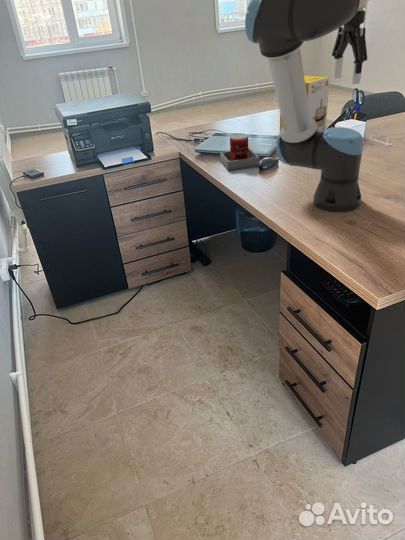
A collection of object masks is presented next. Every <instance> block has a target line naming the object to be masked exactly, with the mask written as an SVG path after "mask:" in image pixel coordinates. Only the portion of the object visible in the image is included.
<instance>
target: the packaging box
mask: <svg viewBox="0 0 405 540" xmlns="http://www.w3.org/2000/svg"><path fill="white" fill-rule="evenodd" d="M304 78H305V85H306V91H307V98H308V104H309V110H310V117H311V119H313V120H314V121H315V122H316V124H317V129H318V131H319V132H325V130H326V129H327V128H326V124H327V115H328V102H329V92H330V91H329V90H330V80H331V76H316V75H313V76H312V75H304ZM282 127H283V123H282V119H281V114H280V113H279V132H280V131H281V129H282Z"/></svg>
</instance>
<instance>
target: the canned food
mask: <svg viewBox="0 0 405 540" xmlns="http://www.w3.org/2000/svg"><path fill="white" fill-rule="evenodd" d="M229 151H230V155H231V161H234V160H241V159H247V158H249V134H246V133H234V134H231V135H230V136H229Z"/></svg>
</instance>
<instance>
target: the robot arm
mask: <svg viewBox="0 0 405 540" xmlns="http://www.w3.org/2000/svg"><path fill="white" fill-rule="evenodd" d="M369 1H370V0H249V3H248V5H247V8H246V13H245V18H244V19H245V21H244V26H245V34H246V38H247V39H248V40H249V42H251V43H253V44H258V47H259V50H260V55H261V56H262V57H263V58H265V59H267V60H268V64H269V69H270V73H271V77H272V82H273V87H274V91H275V95H276V96H275V97H276V99H277V105H278V108H279V115H280V114H281V119H282V123H283V127H282V129H281V131H280V130H279V132H278V134H277V137H276V141H275V143H276V145H275V152H276V156H277V158H278V160H279V161H280V162H281V163H282V164H285V165H289V166H291V167H292V166H293V167H301V168H307V169H312V170H319V171H320V180H319V182H318V184H317V187H316V188H315V192H314V194H313V201H312V202H313V204H314V205H315V206H316V207H317V208H319V209H321V210H324V211H328V212H336V213H337V212H339V213H340V212H349V211H352V210H355V209H357V208H359V207H360V206H361V202H362V194H361V188H360V184H359V176H360V175H359V174H360V168H361V161H362V156H363V151H364V148H363V146H364V137H363V135H362V134H361V133H360V132H359V131H357V130H355V129H353V128H348V127H344V126H343V127H342V126H339V127H337V126H334V127H333V126H332V127H329V128H325V131H324V132H319V131H318V129H317V124H316V122H315V121H314V120H313V119H311V117H310V110H309V104H308V98H307V91H306V85H305V78H304V76H305V74H304V66H303V60H302V55H301V47H302V46H303V44H304V42H309V41H310V42H311V41H313V40H316V39H319V38H320V39H321V38H322V37H324V36H327V35H328V34H330V33H332V32H335V31H336V30H337V36H336V39H335V43H334V46H333V48H332V52H331V56H332V57H333V59H334V64H333V65H334V66H333V77H332V78H333V80H336V79H341V78H342V72H343V71H342V69H343V64H344V63H343V62H344V54H345V52H346V49H347V47H348V45H350V46H351V49H352V52H353V57H354V61H353V62H352V63H353V67H352V76H351V84H350V85H358V84H360V83H361V77H362V70H363V63H364V62H366V61H368V52H367V51H368V50H367V43H366V41H367V40H366V27H361V25H362V24H364V23H365V20H366V19H365V16H366V11H365V10H364V9H366V8H367V3H368V2H369Z"/></svg>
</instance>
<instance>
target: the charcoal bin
mask: <svg viewBox="0 0 405 540" xmlns="http://www.w3.org/2000/svg"><path fill="white" fill-rule="evenodd" d="M248 148H249V147H248ZM219 156H220V157H219V158H220V162H221V164H222V165H223V167H224V168H225V170H226V171H227V172H233V171H239V170H245V169H247V170H248V169H253V168H254V169H255V168H259V167H260V156H258V154H256V152H255V151H254V150H253V149H251V147H250V148H249V158H247V159H241V160H234V161H231V155H230V150H228V151H221V152H220V153H219Z"/></svg>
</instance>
